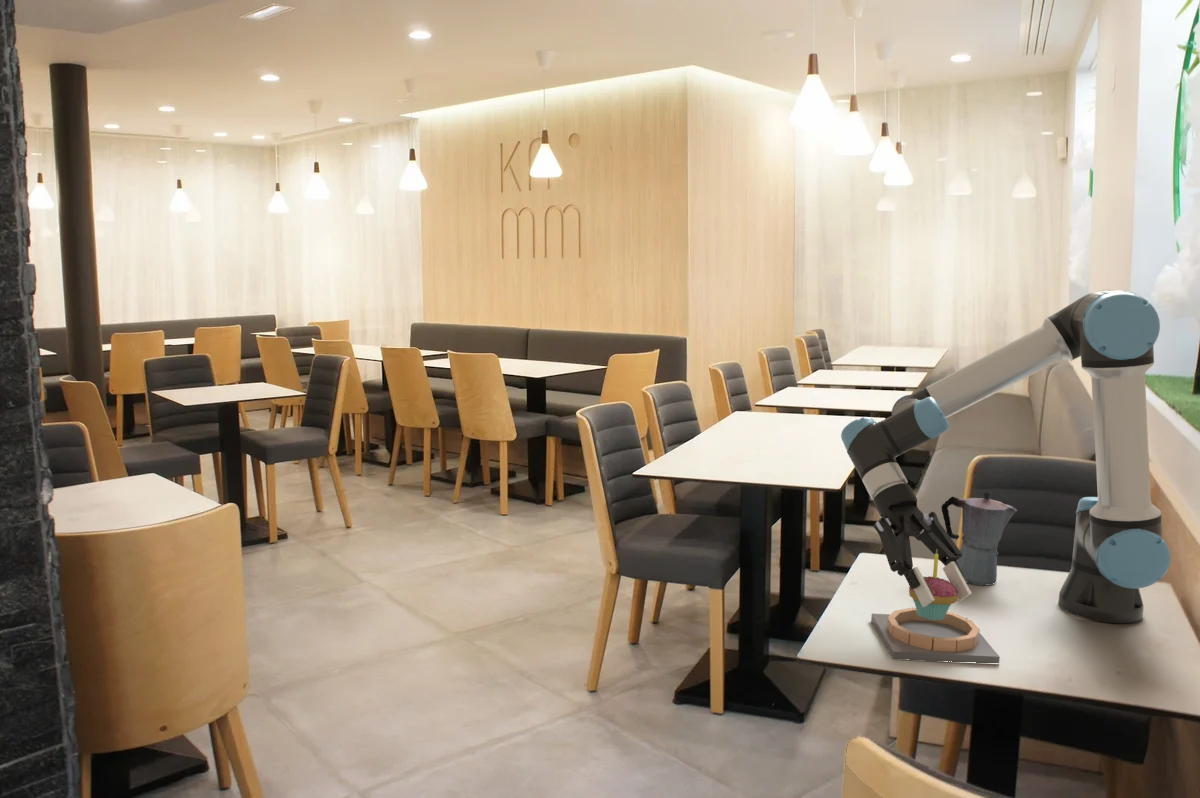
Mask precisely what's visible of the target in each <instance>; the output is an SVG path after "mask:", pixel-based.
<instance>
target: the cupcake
mask: <svg viewBox="0 0 1200 798" xmlns="http://www.w3.org/2000/svg"><path fill="white" fill-rule="evenodd" d="M938 565H939V559H938V554H937V549H936V554H935V555H934V559H933V571H932V576H923V578H924V580H925V582H926V584H927V586H928V588H929V590H930V592H931V594H932V596H933V597H934V599H935V600H934V601H933V602H932V603H930V604H929V605H927V606H926V607H922V605H921V603H920V601H919V599H918V597H917V595H916V593H915V591H914V589H912V588H911V587H910V586H909V588H908V589H909V590H908V592H909V593H908V595H909V597H910V598H912V601H913V602H914V605H915V608H916V610H917V614H918V615H919V616H920V617H922V618H925V619H929V620H942V619H944V618H945V616H946V613H947V612H949V609H950V607H951V605H953V604H955V603H956V602H957V601H958V600H959V598H958V593H959V592H958V591H957V589H956V588H955V587H954V585H952V583H950V582H949V580H946V579H945V578H940V577H938Z"/></svg>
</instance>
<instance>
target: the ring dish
mask: <svg viewBox="0 0 1200 798" xmlns="http://www.w3.org/2000/svg"><path fill="white" fill-rule="evenodd" d="M870 620H871V623H872V624H873V627H874V628H875V630H876V632H877V634H878V636H879V637H880V639H881V641H882V642H883V644H884V646H885V648H886V650H887V649H888V650H887V652H888V651H889V652H888V653H889V655H890V654H891V655H890V657H891V656H892V657H891V659H892V658H893V659H909V660H925V661H924V662H929V661H948V662H947V663H949V661H950V662H951V661H952V662H976V663H999V664H1000V658H1001V657H1000V655H999V654H998V653H997V651H996V650H995V649H994V648H993V647H992V646H991V644H990V643H989V642H988V640H986V639H985V638H984V636H983V635H982V634H981V632H980V628H979V627H978V626H977V625H976V624H975V622H974V621H972V620H971V619H969V618H968V617H964V616H962V615H960V614H958V613H957V614H956V613H954V612H949V611H947V613H946V616H945V618H944V619H942V620H929V619H925V618H922V617H920V616H919V615H918V614H917V610H916V607H908V608H903V609H896V610H894V611H892V613H891V612H890V614H889V613H887V614H886V613H871V618H870ZM893 659H892V660H893ZM909 660H908V661H909Z"/></svg>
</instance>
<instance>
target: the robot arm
mask: <svg viewBox="0 0 1200 798" xmlns="http://www.w3.org/2000/svg"><path fill="white" fill-rule="evenodd" d="M1159 317H1160V316H1159V314H1158V312H1157V310H1156V308H1155V307H1154V306H1153V305H1152V303H1150V301H1148V300H1147V299H1145V298H1144V296H1143V297H1142V296H1141V295H1139V294H1136V293H1135V292H1132V291H1127V290H1114V289H1100V290H1094V291H1092V292H1089V293H1087V294H1085V295H1083V296H1081V297H1080V298H1078V299H1076V300H1075V301H1073V302H1072V303H1070V304H1068V305H1066V307H1064V308H1062V309H1060V310H1058V311H1057V312H1055V313H1053V314H1052V315H1049V316H1048V317H1046V318H1045V319H1044V320H1043V324H1042V325H1041V326H1040V327H1038V328H1036V329H1034V330H1033V331H1030V332H1029V333H1027V334H1025V335H1023V336H1021V337H1019V338H1017V339H1015V340H1013V341H1012V342H1010V343H1007V344H1006V345H1004V346H1001V347H1000V348H998V349H996V350H994V351H993V352H991V353H989V354H987V355H984V356H983V357H981V358H979V359H977V360H975V361H973V362H972V363H969V364H967V365H965V366H964V367H961V368H959V369H958V370H956V371H954V372H952V373H951V374H948V375H946V376H945V377H942V378H941V379H939V380H937V381H935V382H933V383H931V384H930V385H928V386H926V387H924V388H922V389H920V390H917V391H916V392H914V393H912V394H906V395H903V396H901V397H900V398H898V399H897V400H896V401H895V403H894V404H893V406H892V409H891V413H890V414H891V415H890V416H888V417H887V418H885V419H883V420H881V421H878V422H877V421H875V419H874V418H872V417H870V416H869V417H868V416H864V417H863V416H862V417H861V418H859V419H855V420H853V421H850V422H849V423H848V424H847V425H846V426H844V427H843V429H842V431H841V434H840V436H841V441H842V443H843V445H844V448H845V450H846V453H847V455H848V457H849V458H850V460H851V462H852V464H853V466H854V467H855V469H856V471H857V473H858V475H859V477H860V479H861V481H862V483H863V485H864V487H865V489H866V491H867V493H868V495H869V496H870V499H872V501H873V502H872V503H873V505H874V507H875V508H876V511H877V512H878V515H879V516H880V519H878V520H877V521H876V522H875V523H874V524H873V527H874V529H875V531H876V533H877V534H878V536H879V538H880V541H881V544H882V547H883V550H884V553H885V556H886V559H887V562H888V565H889V569H890V571H891V572H894V573H895V572H897V575H899V576H900V577H902V576H904V578H905V580H906V582H907V584H908V586H909V587H911V588H912V589H914V591H915V593H916V595H917V597H918V599H919V601H920V603H921V605H922V607H926V606H927V605H929V604H930V603H932V602H933V601H934V600H935V599H934V597H933V596H932V594H931V592H930V590H929V588H928V586H927V584H926V582H925V580H924V578H923V577H924V576H923V575H922V573H921V570H920V569H919V567H918V566H915V567H914V565H913V556H912V548H911V541H910V540H911V539H910V537H913V538H915V539H916V541H920V542H921V543H923V545H925V547H926V548H927V549H928V550H929V551H930V552H931V553H932V554H933V555H934V556H935V554H936V549H937V554H938V561H940V563H942V565H944V567H943V568H942V570H943V572H944V574H945V575H946V577H947V581H949V583H952V585H954V587H955V588H956V589H957V591H958V592H959V593H958V600H959V601H963V600H965V599H966V598H967V597H969V596H971V595H972V594H973V593H972V591H971V588H970V587H969V586H968V584H967V582H965V580H964V575H963V573H962V571H961V569H960V567H959V565H958V564H957V560H958V559H959V558H960V557H962V553H961V551H960V550H961V549H959V547H958V546H957V545H956V543H955V542H954V539H953V538H950V536H949V535H948V533H947V530H946V528H944V526H943V525H942V524H941V522H940V521H939V518H938V515H937V513H936V512H934V511H930V513H923V511H922V510H920V509H919V507H918V498H917V497H916V494H915V493H914V491H913V489H912V487H911V485H910V484H908V479H907V477H906V475H905V474H904V472H903V470H902V469H901V467H900V465H899V463H898V462H897V460H896V458H897V457H899V456H901V455H903V454H905V453H906V452H909V451H910V450H914V449H915V448H917V447H919V446H921V445H923V444H925V443H927V442H929V441H931V440H933V439H934V440H935V439H937V438H938V437H939V436H941V435H942V434H943V433H946V432H947V431H948V430H949V429H950V423H949V421H948V420H947V418H950V417H951V416H953V415H955V414H957V413H959V412H962V411H963V410H965V409H968V408H969V407H971V406H973V405H975V404H977V403H979V402H980V401H982V400H985V399H987V398H989V397H991V396H993V395H995V394H997V393H999V392H1001V391H1003V390H1005V389H1007V388H1008V387H1010V386H1012V385H1014V384H1017V383H1018V382H1020V381H1022V380H1023V381H1024V379H1027V378H1028V377H1031V376H1033V375H1034V374H1036V373H1038V372H1040V371H1042V370H1044V369H1047V368H1048V367H1050V366H1052V365H1054V364H1057V363H1058V362H1060V361H1062V360H1063V361H1064V360H1065V361H1070V362H1072V361H1074V360H1076V359H1078V358H1080V360H1081V361H1080V362H1081V369H1083V370H1084V371H1085V372H1086V373H1088V374H1089V375H1090V377H1091V379H1090V380H1091V395H1092V410H1093V411H1092V412H1093V413H1092V414H1093V430H1094V431H1093V432H1094V435H1093V436H1094V448H1095V449H1094V450H1095V451H1094V452H1095V469H1096V470H1095V471H1096V486H1097V488H1096V489H1097V496H1084V497H1081V498H1080V499H1079V501H1078V504H1077V508H1076V510H1075V514H1076V518H1075V528H1074V539H1073V549H1072V558H1071V559H1072V561H1071V569H1070V570H1069V572H1068V575H1067V576H1066V578H1065V580H1064V582H1063V585H1062V586H1061V589H1060V591H1059V595H1058V606H1060V607H1061V609H1063V610H1064V611H1066V612H1068V613H1070V614H1073V615H1075V616H1078V617H1080V618H1081V617H1082V618H1084V619H1087V620H1092V621H1097V622H1101V623H1110V624H1111V623H1112V624H1133V623H1137V622H1140V621H1141V620H1142V619H1143V617H1144V602H1143V599H1142V595H1141V590H1140V589H1143V588H1147V587H1150V586H1152V585H1154V584H1156V583H1157V582H1159V581H1160V580H1161V579H1162V578H1163V577H1164V576H1165V575H1166V573H1167V572H1168V571H1169V567H1170V564H1171V552H1170V549H1169V546H1168V544H1167V542H1166V541H1165V540H1164V538H1163V527H1162V526H1163V523H1162V511H1161V510H1160V508H1158V507H1157V506H1156V505H1154V504H1153V503H1152V497H1151V494H1152V493H1151V477H1150V476H1151V474H1150V454H1149V436H1148V435H1149V433H1148V431H1149V430H1148V415H1147V414H1148V411H1147V395H1146V394H1147V392H1146V391H1147V390H1146V373H1147V372H1148V370H1149V369H1151V368H1152V367H1153V366H1154V364H1155V358H1154V357H1155V356H1154V354H1155V353H1154V352H1155V351H1154V345H1155V343H1156V342H1157V340H1158V337H1159V334H1160V332H1161V331H1160V330H1161V322H1160V318H1159Z"/></svg>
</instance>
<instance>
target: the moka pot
mask: <svg viewBox="0 0 1200 798" xmlns="http://www.w3.org/2000/svg"><path fill="white" fill-rule="evenodd" d="M991 496H992V492H991V491H984V492H983V497H968V498H961V497H959V498H958V497H955V496H951V497H950V498H949V497H948V500H946V501H945V502H944V503H942V505H941V506H940V507H941V512H942V515H943V520H944V525H945V531H946V532H947V533H948V535H949V536H950V538H951V539H952V540H958V539H959V538H960V535H959V534H956V533H955V534H954V533H953V530H952V527H951V525H952V524H951V518H950V515H949V514H950V513H949V512H950V511H949V509H948V508H949V506H952V505H953V506H955V507H957V508H961V509H962V519H961V520H962V521H961V522H962V524H961V525H962V526H961V527H962V528H961V529H962V530H961V533H962V534H963V535H962V537H961V539H962V544H961V546H960V547H961V548H960V549H959V550H960V551H961V553H962V557H960V558H959V559H958V560H957V564H958V565H959V567H960V569H961V571H962V573H963V575H964V580H965V582H966V583H968V584H972V583H973V584H972V585H979V584H981V586H987V585H986V584H993V583H995V582H996V583H997V579H998V578H997V577H998V574H997V572H998V571H997V570H998V556H999V552H998V549H997V548H998V546H999V542H1000V541H1001V538H1002V535H1003V532H1004V529H1005V527H1006V526H1007V525H1008V523H1009V522H1010V520H1011V518H1012V517H1013V516H1014V514H1015V513H1017V512H1018V509H1016V508H1015V507H1014V506H1012V505H1009V504H1005V503H1003V502H1001V501H999V500H994V499H991ZM996 583H995V584H996ZM993 585H994V584H993Z"/></svg>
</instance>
